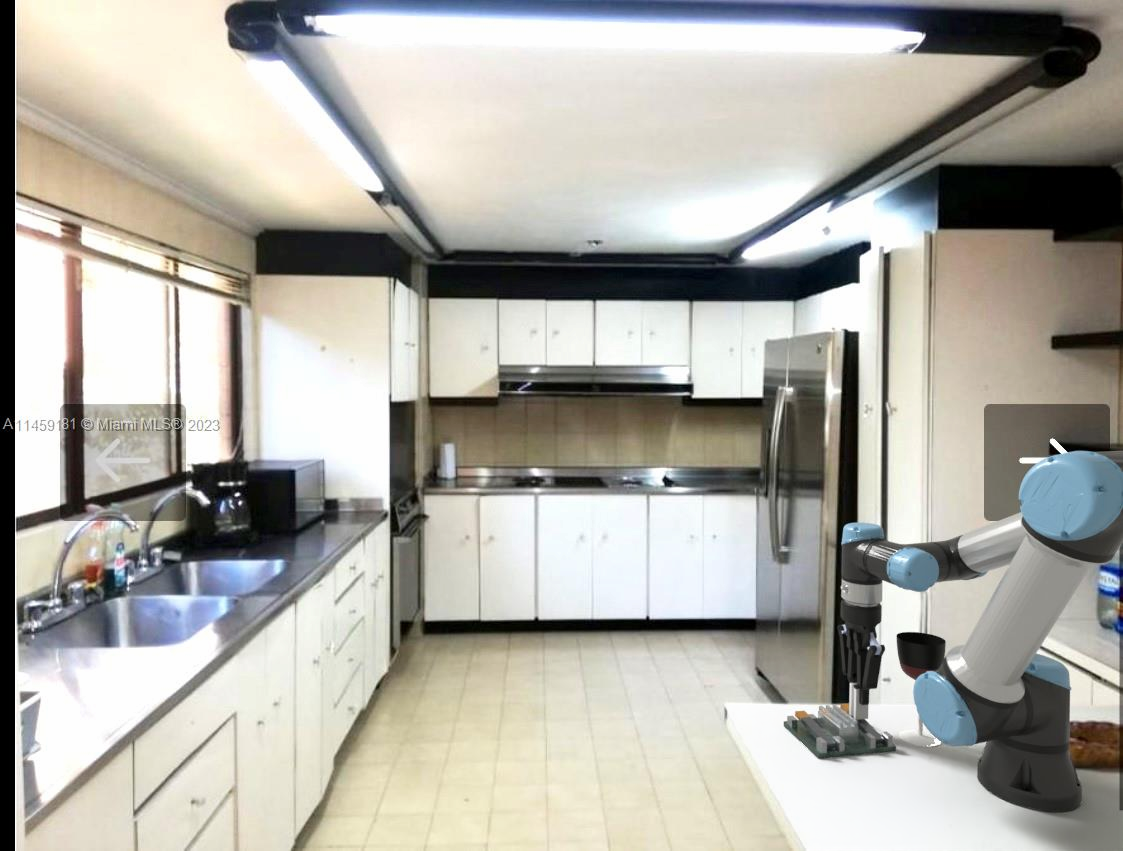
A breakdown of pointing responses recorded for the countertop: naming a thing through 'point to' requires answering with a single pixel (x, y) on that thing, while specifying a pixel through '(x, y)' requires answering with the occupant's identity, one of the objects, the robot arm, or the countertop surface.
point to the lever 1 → (814, 728)
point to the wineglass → (919, 670)
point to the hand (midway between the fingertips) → (858, 716)
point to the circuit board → (838, 735)
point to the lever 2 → (864, 725)
